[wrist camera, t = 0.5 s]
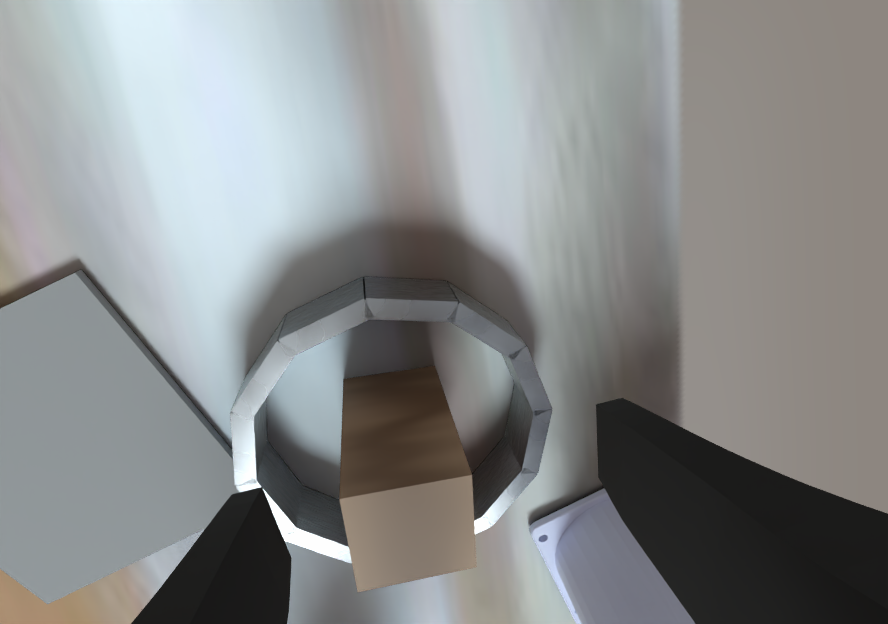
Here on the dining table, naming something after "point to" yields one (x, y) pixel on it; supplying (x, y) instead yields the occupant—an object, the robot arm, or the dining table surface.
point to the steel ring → (376, 298)
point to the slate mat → (94, 444)
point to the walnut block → (403, 480)
